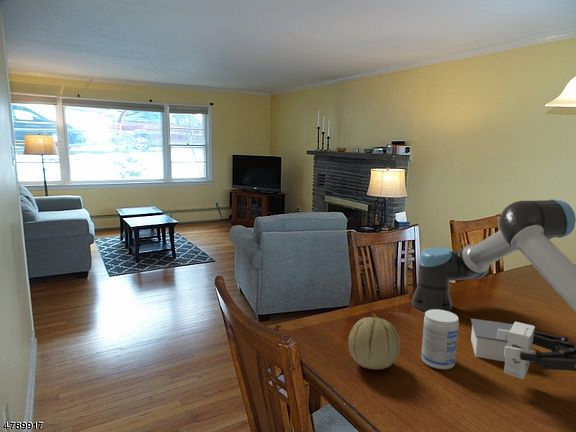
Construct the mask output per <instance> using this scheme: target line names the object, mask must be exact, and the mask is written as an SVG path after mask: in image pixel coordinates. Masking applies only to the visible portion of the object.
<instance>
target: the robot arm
mask: <svg viewBox="0 0 576 432" xmlns="http://www.w3.org/2000/svg"><path fill="white" fill-rule="evenodd" d="M498 222H499V223H498V224H499V226H498V227H499V229H500V230H498V231H496V232H495V233H493V234H491V235H490V236H488V237H486V238H485V239H483V240H482V241H480V242H478V243H476V244H467V245H466V246H464V247H462V248H461V249H458V250H451V249H450V248H448V247H441V246H440V247H436V246H434V247H427V248H424V249H423V250H422V251H421V252H420V255H419V259H418V264H419V265H418V276H417V277H418V278H417V287H416V289H415V290H414V293H413V295H412V299H411V305H412V306H413V307H414V308H416V309H417V310H419V311H422V312H424V313H425V312H426V311H428V310H434V309H437V310H445V311H449V312H451V311H452V308H453V302H452V299H451V293H450V291H449V289H450V288H449V287H450V281H461V280H478V279H481V278H483V277H484V276H486V275H487V273H488V271H489V269H490V267H491V266H490V265H492V264H494V263H495V262H497V261H499V260H501V259H503V258H505V257H507V256H508V255H511V254H512V253H514V252H516V251H520V253H521V254H522V255H523V256H524V257H525V258H526V259H527V260H528V261H529V262H530V264H531V265H532V266H533V267H534V268H535V269H536V270H537V271H538V273H539V274H540V275H541V276H542V277H543V278H544V279H545V280H546V281H547V282H548V284H549V285H550V286H551V287H552V288H553V289H554V290H555V292H557V294H558V295H559V296H560V297H561V298H562V299H563V300H564V301H565V302H566V303H567V305H568V306H569V307H570V308H571V309H572V310H573V311H574V313H576V265H575V264H574V263H573V261H571V260H570V259H569V258H568V257H567V256H566V255H565V254H564V253H563V252H562V251H561V250H560V249H559V248H558V247H557V246H556V245H555V244H554V243H553V242H552V240H551V239H554V238H564V237H567V236H569V235H571V234H572V233H573V231H574V229H575V227H576V213H575V211H574V209H573V207H572V206H571V205H570V204H569V203H567V202H566V201H564V200H560V199H549V200H545V199H544V200H542V199H541V200H518V201H515V202H512V203H510V204H509V205H507V206H506V207H505V208H504V209H503V210H502V212H501V214H500V215H499V219H498ZM509 332H510V330H503V329H498V334H497V339H501V340H507V341H508V336H509ZM532 345H535V346H537V347H541V348H543V349H547V350H549V351H547V352H541V351H540V350H537V349H536V350H533V349H532V350H527V349H521V348H515V347H508V346H505V351H504V357H506V358H512V359H518V360H524V361H530V363H531V362H532V363H535V365H539V368H540V369H543V370H553V371H571V372H576V344H575V343H572V342H571V341H570V342H569V337H566V336H560V335H554V334H551V333H547V332H541V331H537V330H534V336H533V343H532Z"/></svg>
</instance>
